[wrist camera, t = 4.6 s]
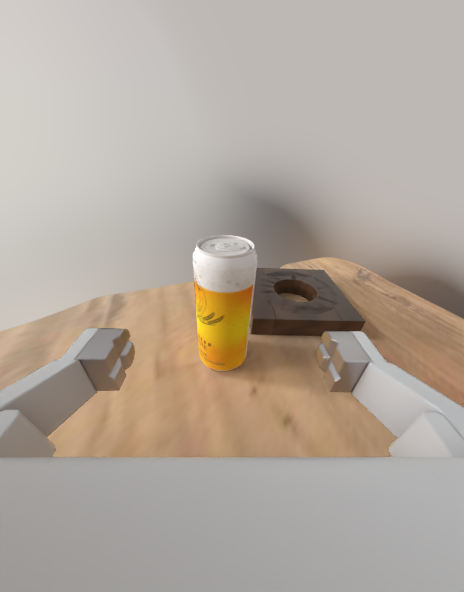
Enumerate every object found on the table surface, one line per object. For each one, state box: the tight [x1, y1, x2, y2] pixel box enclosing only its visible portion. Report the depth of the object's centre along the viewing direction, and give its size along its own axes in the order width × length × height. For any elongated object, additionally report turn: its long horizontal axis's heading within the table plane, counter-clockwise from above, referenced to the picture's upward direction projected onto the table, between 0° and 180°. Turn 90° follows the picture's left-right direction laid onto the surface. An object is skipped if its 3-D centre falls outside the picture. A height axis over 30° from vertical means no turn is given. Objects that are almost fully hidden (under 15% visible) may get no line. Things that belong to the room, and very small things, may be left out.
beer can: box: [193, 235, 258, 371], centre depth 23 cm, size 6×6×15 cm
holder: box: [250, 268, 365, 336], centre depth 37 cm, size 16×16×3 cm
